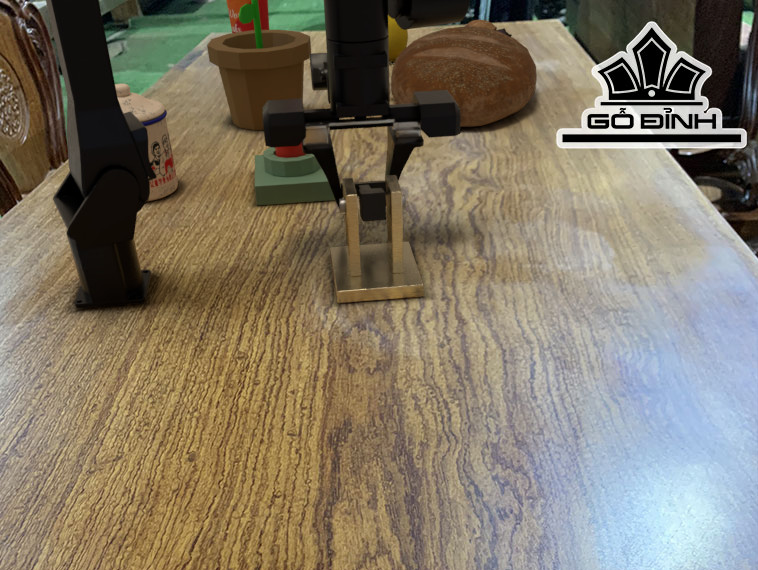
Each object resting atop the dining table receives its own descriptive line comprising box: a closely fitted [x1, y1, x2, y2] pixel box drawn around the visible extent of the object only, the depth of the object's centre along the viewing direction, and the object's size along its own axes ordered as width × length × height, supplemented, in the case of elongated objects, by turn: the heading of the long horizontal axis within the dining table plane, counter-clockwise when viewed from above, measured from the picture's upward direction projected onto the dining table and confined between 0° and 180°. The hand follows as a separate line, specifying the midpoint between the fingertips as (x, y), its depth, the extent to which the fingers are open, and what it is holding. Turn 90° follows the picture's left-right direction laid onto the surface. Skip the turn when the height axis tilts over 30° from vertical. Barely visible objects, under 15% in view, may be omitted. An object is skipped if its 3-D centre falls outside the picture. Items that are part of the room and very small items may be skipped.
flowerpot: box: [206, 0, 312, 131], centre depth 111 cm, size 14×14×30 cm
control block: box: [254, 147, 336, 206], centre depth 98 cm, size 11×9×4 cm
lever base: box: [329, 175, 424, 304], centre depth 77 cm, size 10×8×9 cm
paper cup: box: [225, 0, 270, 33], centre depth 140 cm, size 8×8×14 cm
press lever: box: [340, 179, 387, 223], centre depth 80 cm, size 12×4×2 cm, turn 7°
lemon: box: [388, 15, 409, 63], centre depth 142 cm, size 6×6×8 cm
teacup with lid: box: [115, 83, 179, 202], centre depth 97 cm, size 12×9×12 cm
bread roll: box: [463, 19, 513, 37], centre depth 153 cm, size 11×8×4 cm
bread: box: [390, 26, 538, 128], centre depth 125 cm, size 22×37×8 cm, turn 175°
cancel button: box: [275, 142, 306, 158], centre depth 97 cm, size 4×4×2 cm
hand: (364, 206), depth 86 cm, fingers closed on press lever, 4 cm apart
